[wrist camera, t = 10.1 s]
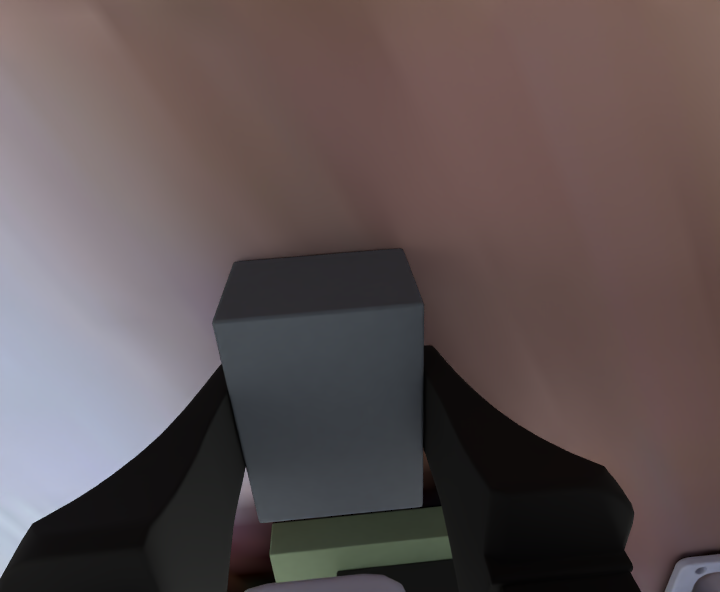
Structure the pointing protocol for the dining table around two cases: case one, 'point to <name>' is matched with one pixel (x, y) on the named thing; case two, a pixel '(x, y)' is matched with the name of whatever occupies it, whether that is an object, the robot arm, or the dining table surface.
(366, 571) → the black rectangular block
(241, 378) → the grey block
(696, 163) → the dining table surface
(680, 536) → the dining table surface
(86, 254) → the dining table surface
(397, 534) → the base pad
